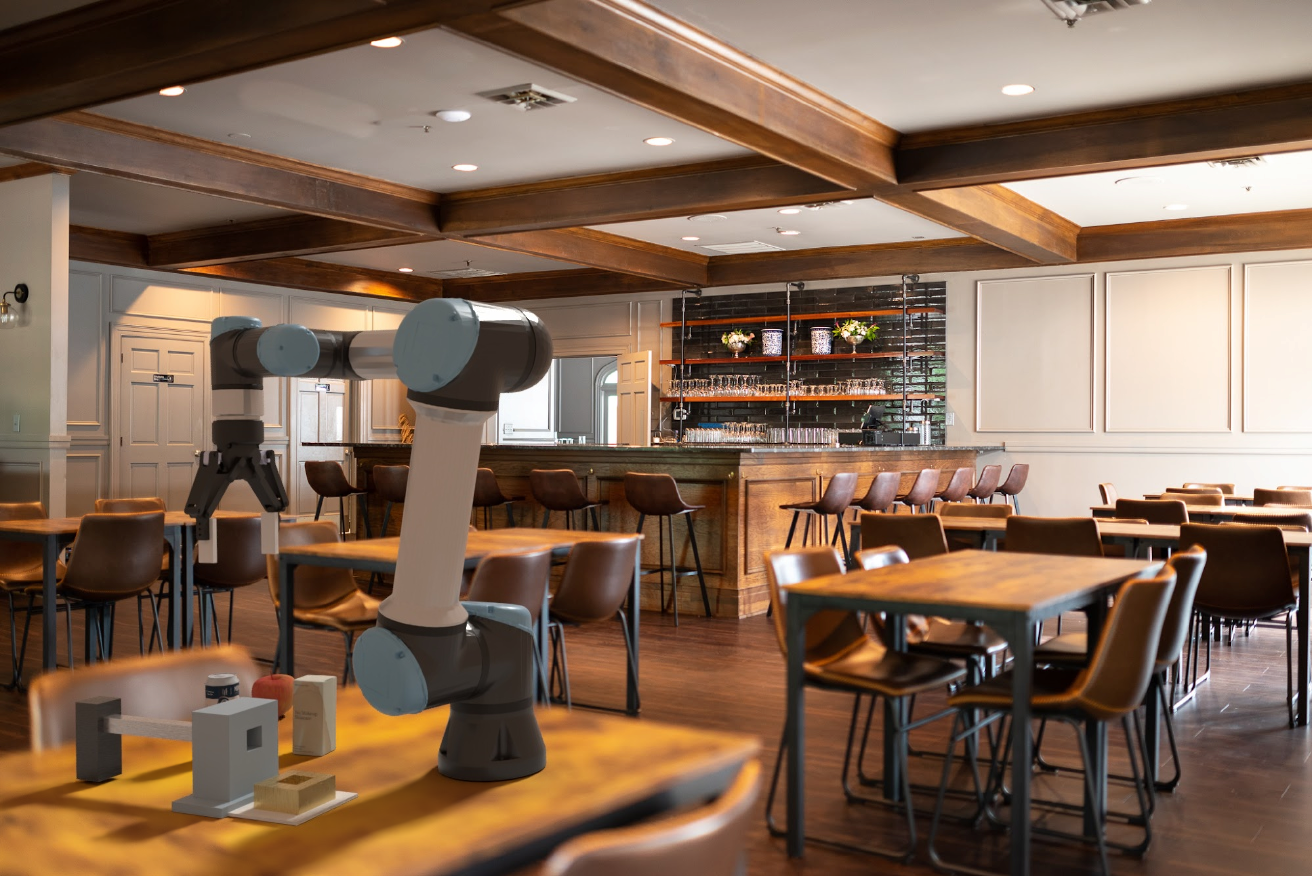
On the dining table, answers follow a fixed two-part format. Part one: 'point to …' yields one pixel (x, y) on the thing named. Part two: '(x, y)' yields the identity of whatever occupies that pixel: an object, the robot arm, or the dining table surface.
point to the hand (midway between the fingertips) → (240, 558)
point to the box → (314, 715)
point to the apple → (275, 690)
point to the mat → (291, 819)
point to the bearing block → (231, 755)
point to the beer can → (221, 688)
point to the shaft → (114, 735)
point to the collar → (294, 792)
